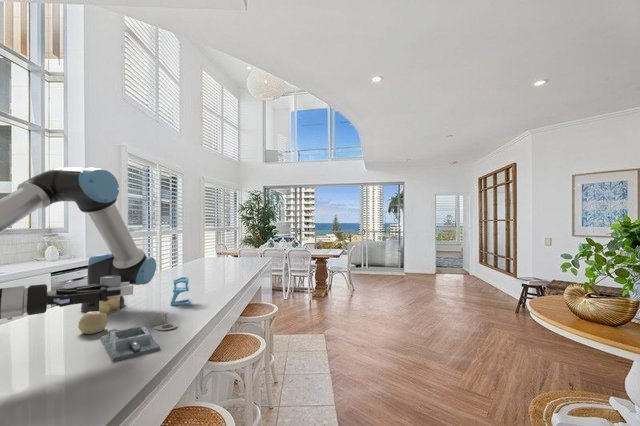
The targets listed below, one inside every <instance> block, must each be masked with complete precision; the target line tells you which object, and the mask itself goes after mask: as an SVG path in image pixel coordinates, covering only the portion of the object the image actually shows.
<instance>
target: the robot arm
mask: <svg viewBox="0 0 640 426" xmlns="http://www.w3.org/2000/svg"><path fill="white" fill-rule="evenodd" d="M119 185H120V184H119V182H118V179H117V178H116V176H115V175H114V174H113V173H112V172H110V171H109V170H107V169H103V168H97V167H65V166H64V167H57V168H52V169H49V170H45V171H44V172H41V173H38V174H36V175H35V176H34V175H33V177H30V178H29V179H27V180H26V181H25V180H24V181H23V182H22V183H19V184H18V186H17V187H16V190H14V191H12V192H11V193H9V194H7V195H5V196H4V197H2V198H0V234H1V233H3V232H4V231H6V230H7V229H9V228H10V227H12V226H14V225H15V224H17V223H18V222H19V221H21V220H23V219H25V218H26V217H28V216H29V215H30V214H32V213H34V212H35V211H37V210H38V209H46V208H48V207H49V206H51V205H52V204H54V203H59V202H60V203H61V202H74V203H75V204H76V205H77V208H79V211H80V212H82V213H85V214H88V216H89V218H90V219H91V220H92V222H93V224H94V226H95V228H96V229H97V231H98V232H99V234H100V236H101V238H102V240H103V241H104V243H105V244H106V246H107V247H108V249H109V251H110V253H100V254H95V255H94V254H93V255H92V256H90V257H89V258H88V261H87V262H88V263H87V264H88V265H87V280H86V281H87V284H83V285H74V286H65V287H64V286H63V287H61V286H60V287H57V288H56V289H55V290H50V291H48V285H47V284H46V283H43V284H42V283H41V284H33V285H29V286H28V287H25V285H20V286H10V287H9V286H8V287H3V288H2V287H1V288H0V320H3V319H6V320H7V321H11V320H13V318H19V317H23V316H24V314H27V316H32V315H41V314H45V313H46V312H47V306H49V305H50V306H52V305H55V306H56V307H57V306H58V307H60V308H62V307H67V306H72V305H80V304H81V306H80V310H81V312H83V313H87V312H93V311H99V301H107V298H111V297H119V296H120V308H121V309H122V308H123V307H124V306H125V304H126V302H125V297H127V296H131V295H132V296H133V295H134V285H135V286H136V285H137V286H140V285H147V284H149V283H150V282H151V281H152V279H154V276H155V273H156V271H157V262H156V259H155V258H154V257H153V256H147V255H146V254H145V252H144V250H143V249H142V248H139V247H137V245H136V243H135V241H134V239H133V237H132V235H131V233H130V231H129V229H128V227H127V225H126V223H125V221H124V219H123V218H122V216H121V213H120V211H119V209H118V208H117V206H116V202H117V201H118V197H119V194H120V190H119V188H120V186H119ZM104 276H121V282H120V287H113V288H107V289H104V290H100V278H101V277H104Z"/></svg>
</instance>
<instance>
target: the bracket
mask: <svg viewBox="0 0 640 426" xmlns="http://www.w3.org/2000/svg"><path fill="white" fill-rule="evenodd" d="M152 320H153V321H152ZM167 321H168V320H167V313H163V314H159V315H155V316H150V317H148V327H152V326H153V327H152V329H153V330H156V331H169V330H173V329H176V328H177V327H178V324H177V323H172V322H168V323H166V322H167ZM159 324H161V325H159ZM155 325H157V326H155Z"/></svg>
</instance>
